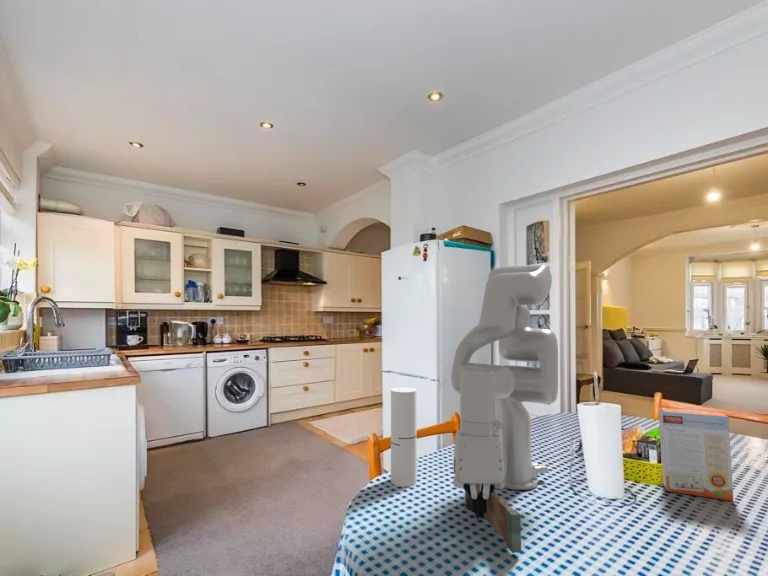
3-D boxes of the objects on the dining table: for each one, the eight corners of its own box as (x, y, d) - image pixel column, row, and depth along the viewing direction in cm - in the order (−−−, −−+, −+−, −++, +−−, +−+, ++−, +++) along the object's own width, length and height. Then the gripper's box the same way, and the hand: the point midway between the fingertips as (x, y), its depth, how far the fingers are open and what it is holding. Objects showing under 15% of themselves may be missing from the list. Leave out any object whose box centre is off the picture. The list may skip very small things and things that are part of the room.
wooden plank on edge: (469, 505, 94) (469, 475, 94) (476, 505, 94) (476, 474, 94) (512, 553, 75) (512, 515, 76) (521, 551, 76) (520, 514, 76)
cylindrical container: (415, 488, 105) (414, 392, 107) (388, 485, 107) (388, 391, 108) (418, 477, 112) (417, 387, 114) (393, 475, 114) (393, 386, 115)
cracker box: (725, 492, 103) (721, 411, 105) (734, 502, 98) (730, 416, 99) (661, 482, 109) (658, 405, 110) (665, 491, 104) (662, 410, 105)
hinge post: (472, 503, 97) (472, 467, 97) (476, 508, 95) (476, 471, 95) (463, 504, 96) (463, 468, 97) (467, 509, 94) (467, 472, 95)
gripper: (508, 423, 89) (509, 507, 87) (441, 422, 89) (441, 506, 88) (518, 432, 81) (520, 526, 80) (445, 431, 82) (445, 524, 80)
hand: (478, 515), depth 84 cm, fingers closed
